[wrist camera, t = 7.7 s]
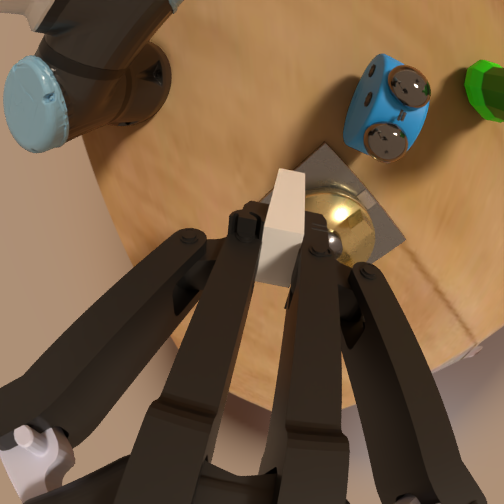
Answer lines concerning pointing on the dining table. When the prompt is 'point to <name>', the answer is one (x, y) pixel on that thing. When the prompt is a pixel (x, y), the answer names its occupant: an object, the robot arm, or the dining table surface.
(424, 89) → the alarm clock
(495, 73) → the plastic bottle
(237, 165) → the dining table surface
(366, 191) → the spindle plate
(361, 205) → the notched brass disc
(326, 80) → the dining table surface
